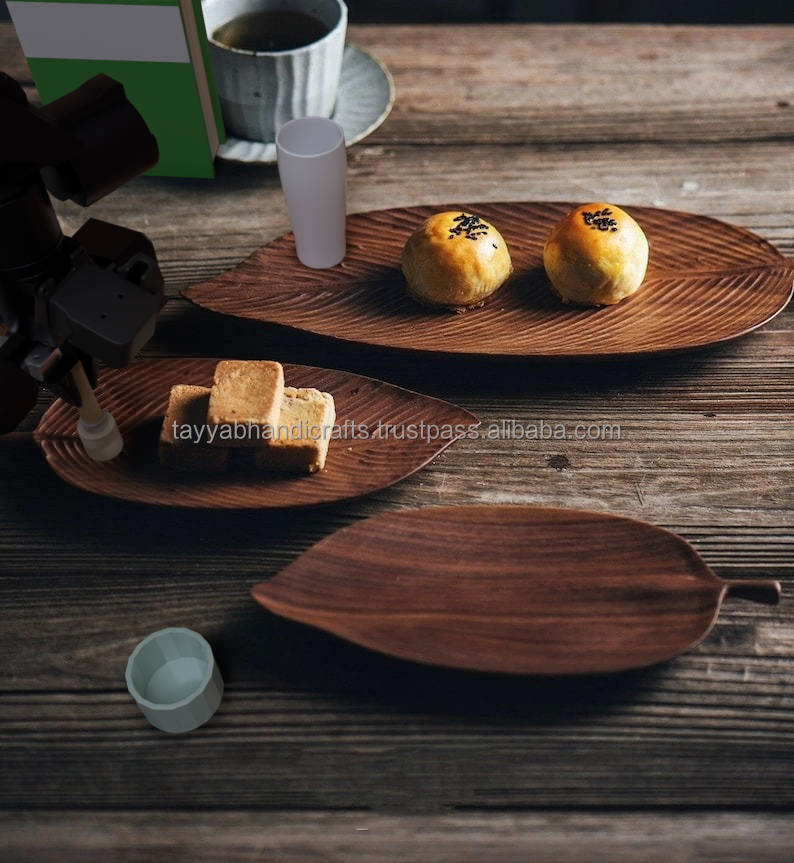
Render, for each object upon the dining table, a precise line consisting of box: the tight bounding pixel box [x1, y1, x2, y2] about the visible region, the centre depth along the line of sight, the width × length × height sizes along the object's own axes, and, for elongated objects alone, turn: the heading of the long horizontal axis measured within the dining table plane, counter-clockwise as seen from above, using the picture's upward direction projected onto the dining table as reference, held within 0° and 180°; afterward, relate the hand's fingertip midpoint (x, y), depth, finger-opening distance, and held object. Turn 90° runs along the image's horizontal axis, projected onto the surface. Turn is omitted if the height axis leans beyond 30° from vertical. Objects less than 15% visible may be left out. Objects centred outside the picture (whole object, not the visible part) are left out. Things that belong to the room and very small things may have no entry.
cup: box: [124, 627, 225, 734], centre depth 68 cm, size 6×6×5 cm
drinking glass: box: [274, 115, 348, 270], centre depth 94 cm, size 7×7×15 cm
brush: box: [71, 358, 124, 462], centre depth 73 cm, size 3×3×10 cm
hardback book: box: [4, 0, 228, 179], centre depth 102 cm, size 18×7×24 cm, turn 85°
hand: (83, 396), depth 72 cm, fingers closed on brush
